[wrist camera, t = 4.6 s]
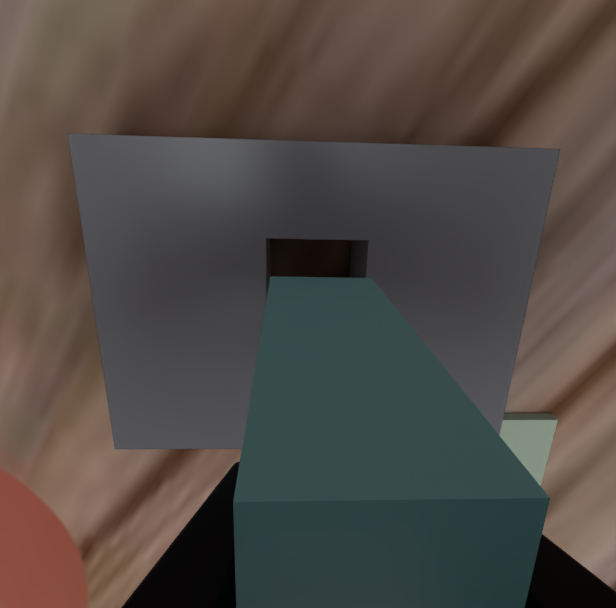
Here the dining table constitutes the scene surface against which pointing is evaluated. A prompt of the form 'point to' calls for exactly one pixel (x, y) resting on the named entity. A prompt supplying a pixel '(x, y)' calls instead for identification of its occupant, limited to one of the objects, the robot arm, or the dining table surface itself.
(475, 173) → the socket block
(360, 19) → the dining table surface
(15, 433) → the dining table surface
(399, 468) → the plug
